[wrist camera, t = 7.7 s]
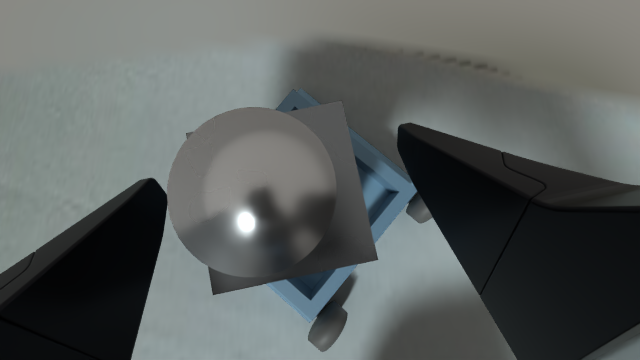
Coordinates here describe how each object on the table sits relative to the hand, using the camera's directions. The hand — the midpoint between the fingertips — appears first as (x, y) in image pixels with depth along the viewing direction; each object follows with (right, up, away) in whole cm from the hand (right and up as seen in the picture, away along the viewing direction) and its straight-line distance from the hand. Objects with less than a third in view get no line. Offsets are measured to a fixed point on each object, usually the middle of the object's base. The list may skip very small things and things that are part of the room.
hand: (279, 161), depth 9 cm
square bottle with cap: (0, -2, +8) cm, 9 cm away
